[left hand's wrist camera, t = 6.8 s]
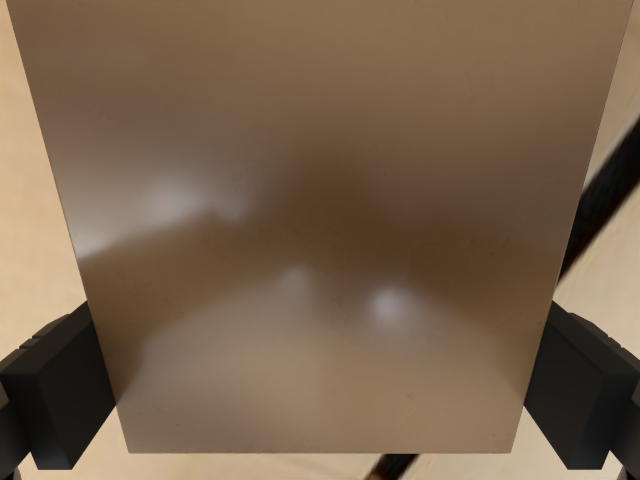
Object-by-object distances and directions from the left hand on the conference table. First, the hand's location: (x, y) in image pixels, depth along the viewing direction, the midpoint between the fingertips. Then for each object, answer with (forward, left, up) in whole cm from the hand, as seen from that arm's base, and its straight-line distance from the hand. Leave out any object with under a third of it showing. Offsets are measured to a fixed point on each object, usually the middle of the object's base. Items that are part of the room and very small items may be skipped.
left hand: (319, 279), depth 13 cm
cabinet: (+5, -2, -6) cm, 8 cm away
